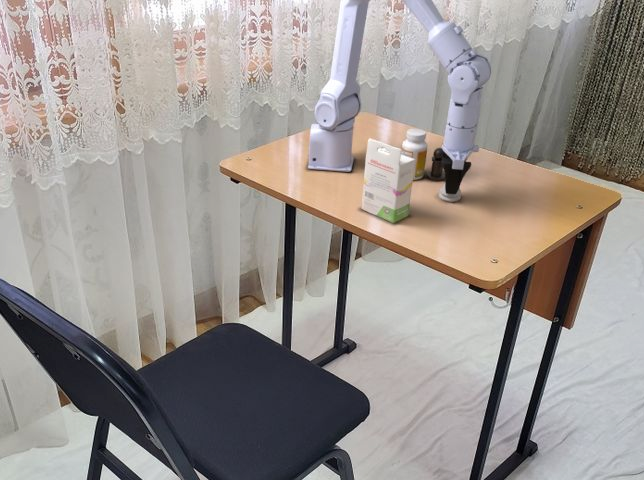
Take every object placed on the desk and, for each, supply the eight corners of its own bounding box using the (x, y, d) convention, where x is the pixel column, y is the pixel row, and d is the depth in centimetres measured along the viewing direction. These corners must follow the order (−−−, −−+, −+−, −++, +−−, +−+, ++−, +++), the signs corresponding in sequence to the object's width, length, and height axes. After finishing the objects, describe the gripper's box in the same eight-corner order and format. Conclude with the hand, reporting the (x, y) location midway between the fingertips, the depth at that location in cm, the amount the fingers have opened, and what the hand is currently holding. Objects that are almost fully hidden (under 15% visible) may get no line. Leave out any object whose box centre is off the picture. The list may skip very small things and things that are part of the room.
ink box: (409, 216, 144) (419, 143, 135) (393, 224, 141) (402, 150, 132) (376, 201, 149) (383, 130, 140) (359, 209, 146) (366, 137, 138)
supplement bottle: (422, 170, 161) (428, 127, 156) (424, 181, 157) (430, 137, 151) (397, 170, 162) (402, 126, 156) (399, 180, 158) (404, 136, 152)
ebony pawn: (426, 180, 157) (430, 151, 153) (426, 172, 160) (430, 144, 157) (445, 181, 157) (450, 152, 153) (445, 174, 160) (449, 145, 156)
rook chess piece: (461, 195, 151) (468, 158, 147) (459, 204, 148) (465, 166, 143) (439, 192, 153) (445, 155, 148) (436, 201, 149) (442, 163, 144)
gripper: (485, 138, 135) (472, 206, 143) (481, 111, 146) (469, 176, 154) (446, 136, 136) (435, 203, 144) (445, 109, 147) (435, 173, 155)
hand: (450, 189), depth 149 cm, fingers closed on rook chess piece, 3 cm apart
